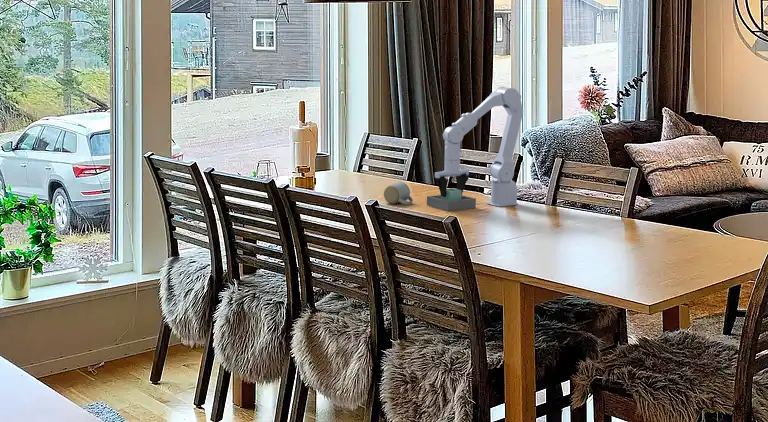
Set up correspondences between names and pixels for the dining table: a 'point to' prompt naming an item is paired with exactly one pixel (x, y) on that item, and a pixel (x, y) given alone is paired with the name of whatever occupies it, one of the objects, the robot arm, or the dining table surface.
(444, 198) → the small crate
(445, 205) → the big crate
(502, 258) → the dining table surface
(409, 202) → the ceramic mug
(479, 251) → the dining table surface
